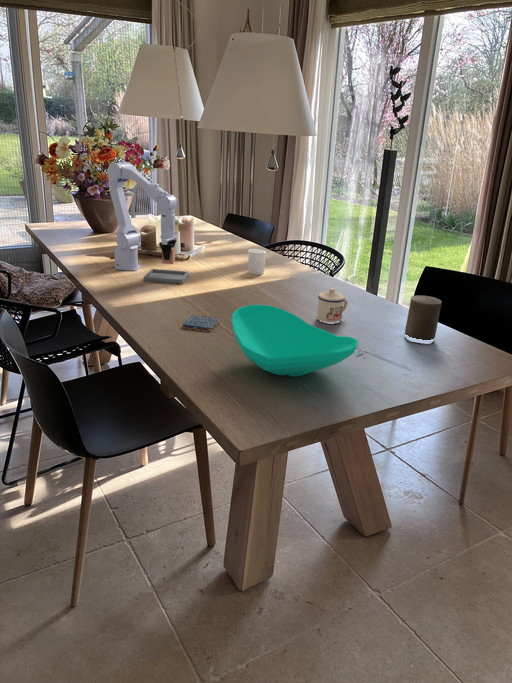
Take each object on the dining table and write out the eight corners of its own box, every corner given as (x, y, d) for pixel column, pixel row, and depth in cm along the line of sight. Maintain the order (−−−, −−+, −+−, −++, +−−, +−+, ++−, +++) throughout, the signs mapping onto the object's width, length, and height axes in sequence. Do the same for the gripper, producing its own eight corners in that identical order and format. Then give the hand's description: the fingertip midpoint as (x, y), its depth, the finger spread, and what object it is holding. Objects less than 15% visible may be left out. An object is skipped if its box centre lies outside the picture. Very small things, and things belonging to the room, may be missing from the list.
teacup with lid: (326, 326, 189) (330, 293, 184) (310, 318, 196) (313, 286, 191) (353, 321, 195) (357, 290, 190) (336, 313, 202) (340, 282, 198)
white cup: (265, 271, 251) (267, 249, 247) (264, 276, 244) (265, 253, 240) (248, 270, 252) (249, 248, 248) (246, 274, 244) (247, 252, 241)
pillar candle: (429, 347, 177) (438, 302, 171) (399, 339, 181) (407, 295, 176) (437, 338, 184) (446, 295, 179) (409, 331, 189) (416, 289, 183)
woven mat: (220, 323, 188) (220, 317, 187) (211, 334, 178) (211, 328, 177) (190, 319, 190) (190, 313, 189) (180, 329, 180) (180, 324, 179)
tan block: (162, 263, 231) (161, 249, 229) (164, 260, 235) (164, 246, 233) (172, 264, 231) (172, 249, 228) (174, 261, 235) (174, 247, 233)
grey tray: (143, 281, 226) (143, 276, 226) (151, 272, 238) (151, 268, 238) (182, 284, 226) (182, 279, 225) (188, 275, 238) (188, 271, 237)
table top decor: (205, 357, 159) (206, 314, 154) (275, 337, 177) (278, 297, 172) (306, 413, 133) (311, 363, 128) (376, 383, 150) (383, 338, 145)
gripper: (174, 229, 220) (174, 263, 225) (181, 223, 234) (180, 254, 239) (156, 228, 220) (156, 261, 226) (164, 222, 234) (164, 253, 239)
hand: (168, 258), depth 232 cm, fingers closed on tan block, 4 cm apart
